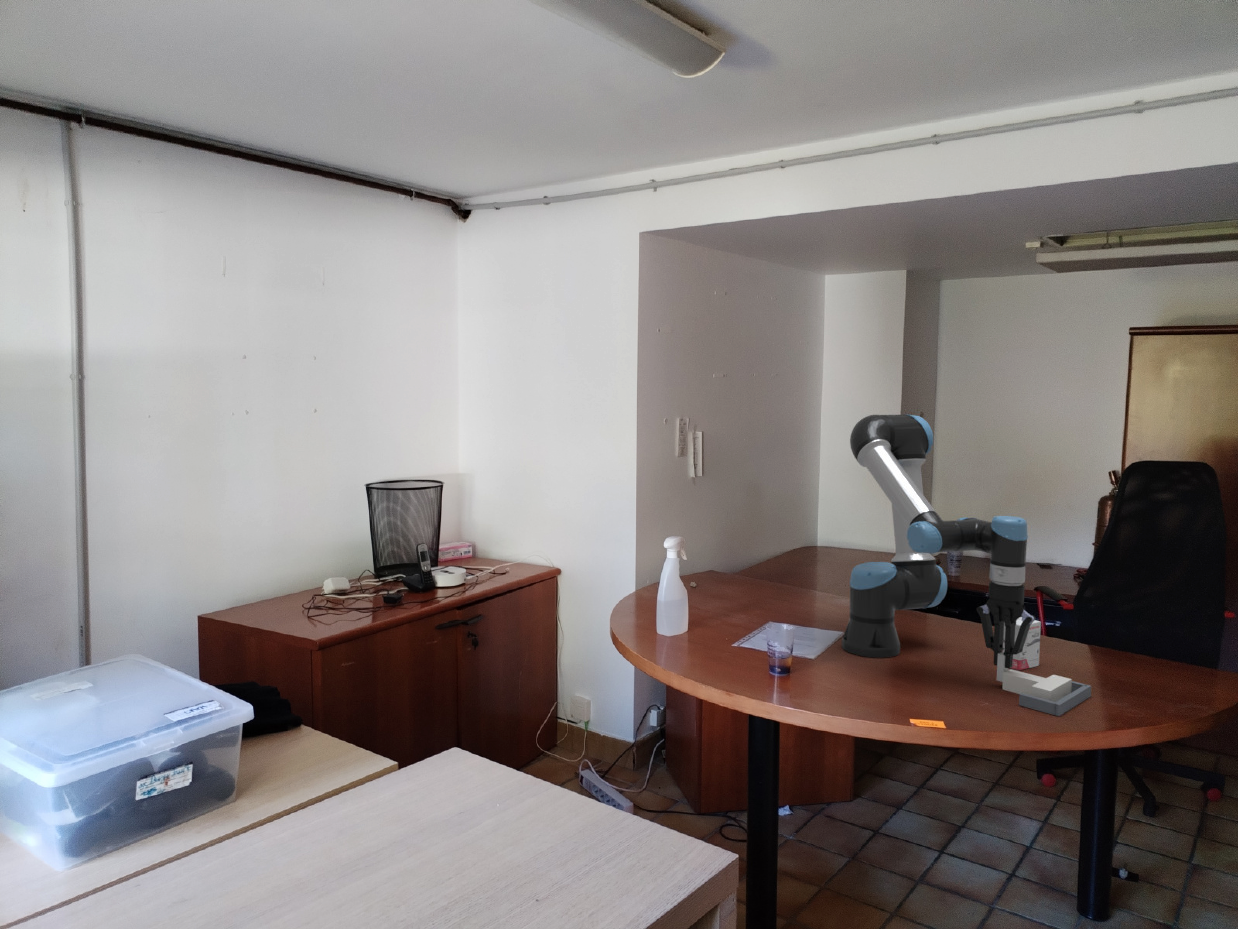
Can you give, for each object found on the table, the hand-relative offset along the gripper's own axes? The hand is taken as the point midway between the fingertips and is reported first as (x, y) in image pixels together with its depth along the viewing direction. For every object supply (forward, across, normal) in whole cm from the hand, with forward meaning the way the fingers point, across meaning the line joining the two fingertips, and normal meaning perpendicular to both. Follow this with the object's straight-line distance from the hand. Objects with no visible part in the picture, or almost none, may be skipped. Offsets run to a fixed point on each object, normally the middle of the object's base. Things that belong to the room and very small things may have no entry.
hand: (1002, 680), depth 187 cm
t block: (+2, +7, 0) cm, 7 cm away
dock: (+2, +12, 0) cm, 12 cm away
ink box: (+2, -4, +19) cm, 19 cm away
